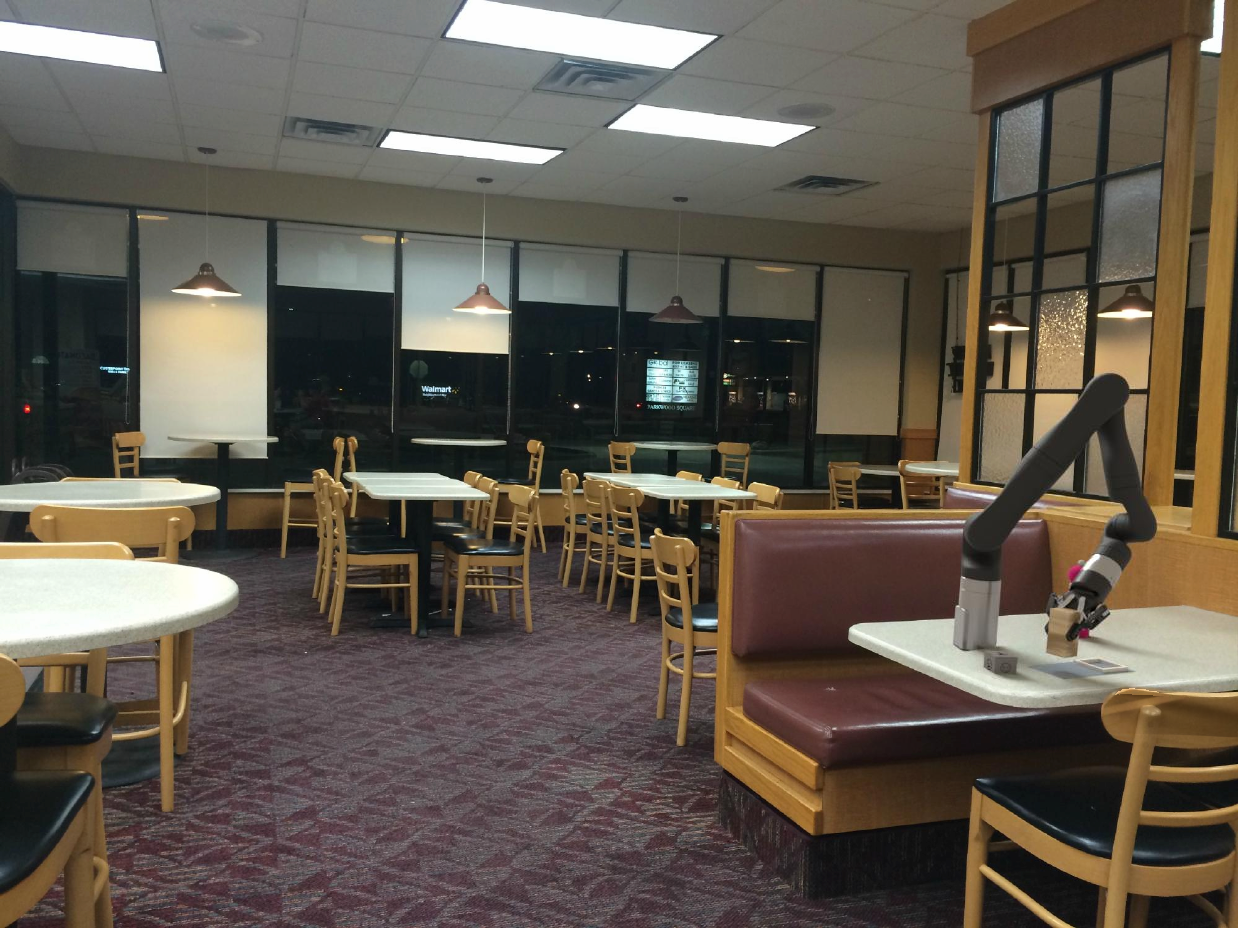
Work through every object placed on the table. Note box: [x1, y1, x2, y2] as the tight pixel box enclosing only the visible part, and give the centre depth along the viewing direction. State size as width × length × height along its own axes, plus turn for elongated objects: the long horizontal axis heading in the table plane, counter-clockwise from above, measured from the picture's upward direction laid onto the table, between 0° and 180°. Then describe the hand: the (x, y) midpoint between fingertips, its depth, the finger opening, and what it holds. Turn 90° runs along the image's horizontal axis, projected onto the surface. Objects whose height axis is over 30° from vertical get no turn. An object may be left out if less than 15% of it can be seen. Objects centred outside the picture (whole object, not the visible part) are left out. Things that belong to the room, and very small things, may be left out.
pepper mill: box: [1067, 559, 1092, 638], centre depth 253 cm, size 7×7×20 cm
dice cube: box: [983, 650, 1018, 675], centre depth 210 cm, size 5×5×5 cm
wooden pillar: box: [1045, 607, 1080, 659], centre depth 212 cm, size 4×4×10 cm
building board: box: [1027, 657, 1136, 680], centre depth 215 cm, size 22×10×2 cm, turn 114°
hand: (1058, 635), depth 211 cm, fingers closed on wooden pillar, 4 cm apart
